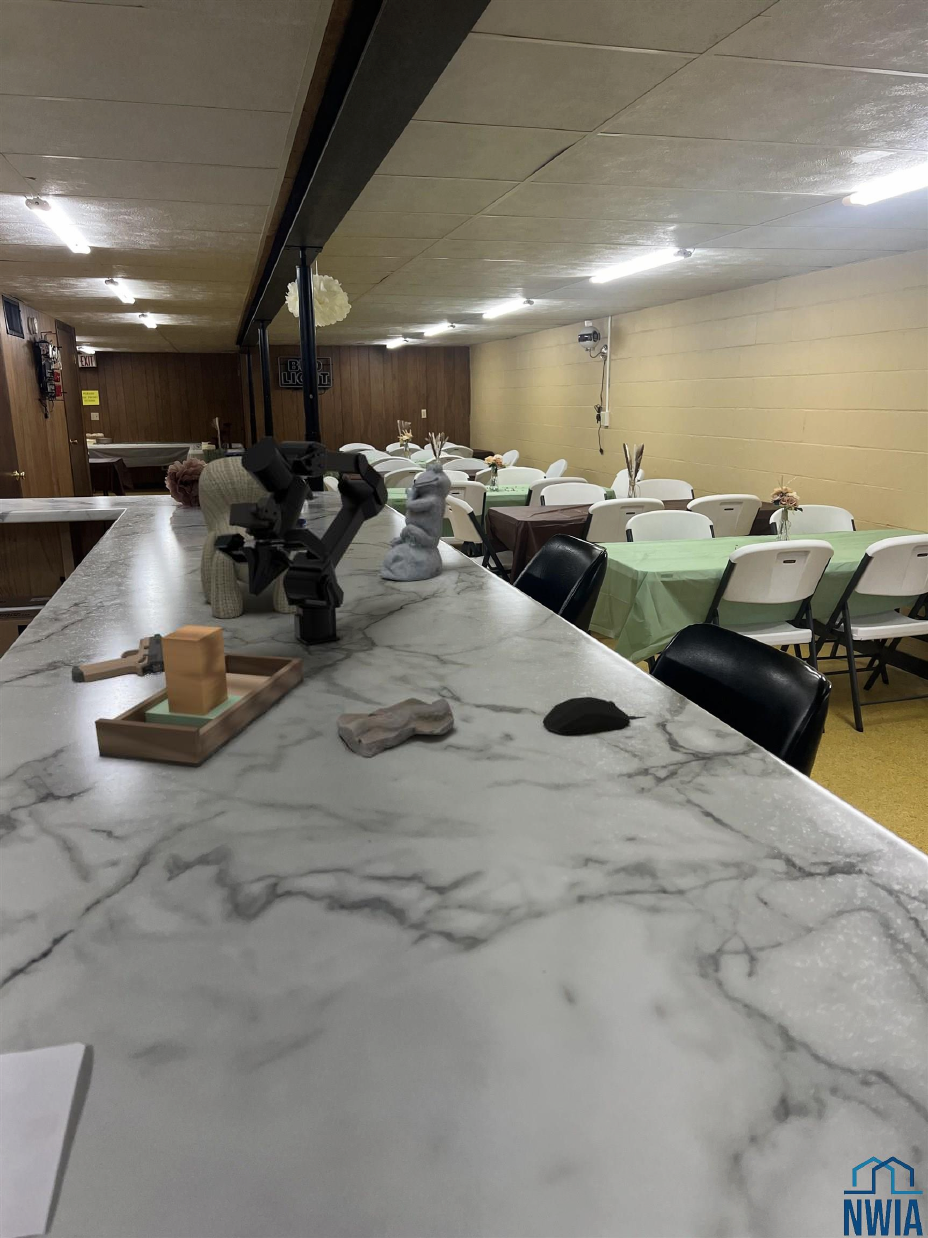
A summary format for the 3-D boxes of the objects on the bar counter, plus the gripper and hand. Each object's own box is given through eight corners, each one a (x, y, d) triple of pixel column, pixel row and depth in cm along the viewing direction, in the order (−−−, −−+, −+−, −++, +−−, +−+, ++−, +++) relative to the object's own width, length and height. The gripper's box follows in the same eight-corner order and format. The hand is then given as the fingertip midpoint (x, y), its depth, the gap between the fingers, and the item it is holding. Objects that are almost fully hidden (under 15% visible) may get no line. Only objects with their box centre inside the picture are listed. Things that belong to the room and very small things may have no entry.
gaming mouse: (658, 728, 102) (660, 700, 101) (554, 741, 98) (555, 712, 97) (634, 710, 108) (636, 683, 107) (536, 722, 104) (536, 694, 103)
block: (194, 695, 105) (187, 625, 102) (228, 698, 104) (222, 627, 101) (169, 712, 99) (161, 637, 96) (204, 715, 98) (197, 640, 95)
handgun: (70, 688, 116) (169, 675, 121) (67, 672, 116) (167, 660, 120) (83, 653, 134) (169, 643, 138) (81, 638, 133) (167, 629, 137)
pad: (181, 704, 107) (179, 690, 107) (254, 711, 105) (253, 697, 104) (146, 726, 100) (145, 712, 99) (224, 734, 97) (223, 720, 97)
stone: (358, 764, 91) (357, 732, 90) (327, 735, 99) (326, 705, 98) (464, 738, 99) (464, 708, 98) (428, 713, 107) (428, 685, 106)
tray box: (225, 673, 121) (223, 646, 119) (303, 680, 118) (301, 652, 117) (99, 756, 92) (94, 721, 91) (197, 767, 90) (194, 731, 89)
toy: (292, 582, 183) (285, 452, 175) (314, 614, 155) (306, 462, 147) (200, 588, 176) (188, 454, 168) (206, 623, 148) (192, 464, 140)
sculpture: (379, 562, 200) (393, 448, 188) (438, 570, 203) (456, 458, 190) (378, 590, 184) (393, 467, 172) (442, 597, 186) (462, 477, 174)
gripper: (206, 485, 123) (172, 571, 117) (297, 474, 114) (264, 568, 108) (252, 522, 131) (223, 604, 126) (339, 515, 122) (312, 603, 117)
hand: (253, 595), depth 119 cm, fingers closed
